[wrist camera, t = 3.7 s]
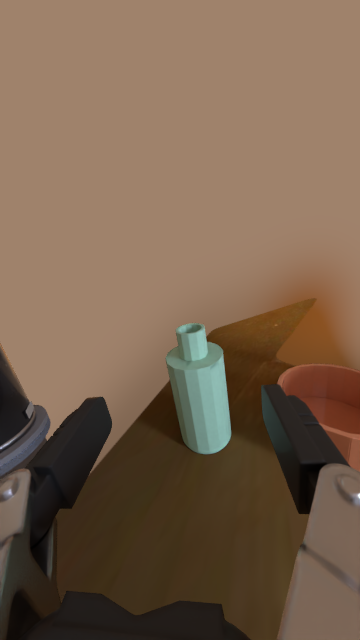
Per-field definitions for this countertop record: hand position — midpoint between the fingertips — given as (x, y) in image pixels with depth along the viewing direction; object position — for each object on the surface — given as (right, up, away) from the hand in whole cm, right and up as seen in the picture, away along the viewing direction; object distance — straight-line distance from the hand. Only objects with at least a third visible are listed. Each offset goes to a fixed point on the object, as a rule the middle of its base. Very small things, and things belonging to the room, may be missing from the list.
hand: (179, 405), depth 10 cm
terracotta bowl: (+17, -8, +12) cm, 22 cm away
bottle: (+3, -10, +15) cm, 18 cm away
